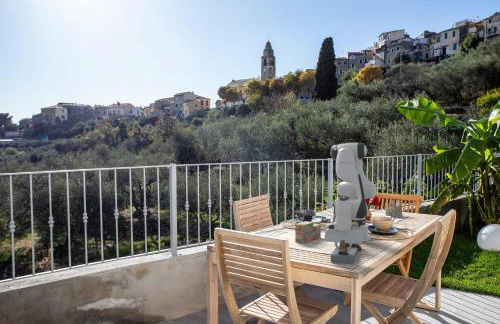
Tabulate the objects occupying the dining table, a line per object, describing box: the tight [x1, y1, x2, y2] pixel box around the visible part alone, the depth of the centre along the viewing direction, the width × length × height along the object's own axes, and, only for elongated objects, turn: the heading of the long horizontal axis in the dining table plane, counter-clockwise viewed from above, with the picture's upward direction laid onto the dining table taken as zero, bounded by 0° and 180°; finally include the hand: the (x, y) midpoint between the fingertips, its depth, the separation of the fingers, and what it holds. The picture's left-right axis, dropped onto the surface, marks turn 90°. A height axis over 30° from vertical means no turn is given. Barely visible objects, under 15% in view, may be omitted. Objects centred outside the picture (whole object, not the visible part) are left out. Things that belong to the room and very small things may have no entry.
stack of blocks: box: [294, 220, 322, 245], centre depth 266 cm, size 21×6×12 cm, turn 138°
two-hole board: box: [330, 245, 359, 265], centre depth 223 cm, size 20×12×4 cm, turn 158°
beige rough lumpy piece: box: [347, 222, 363, 253], centre depth 241 cm, size 18×12×17 cm, turn 146°
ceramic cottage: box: [385, 200, 404, 218], centre depth 349 cm, size 16×16×15 cm
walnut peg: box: [339, 240, 347, 255], centre depth 218 cm, size 4×4×10 cm
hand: (343, 250), depth 219 cm, fingers closed on walnut peg, 4 cm apart
